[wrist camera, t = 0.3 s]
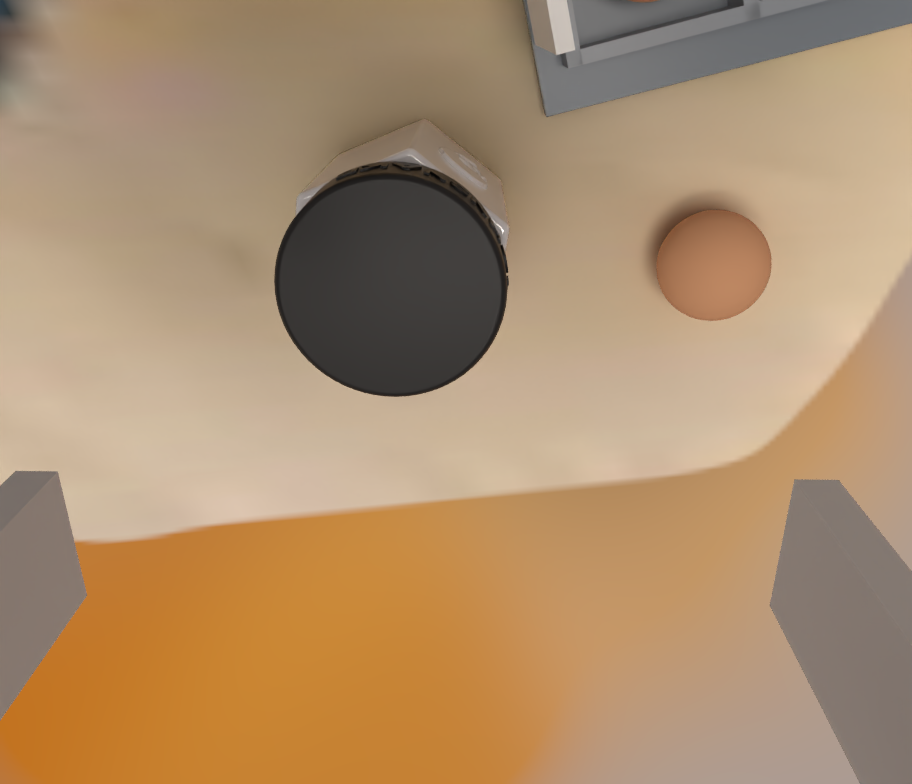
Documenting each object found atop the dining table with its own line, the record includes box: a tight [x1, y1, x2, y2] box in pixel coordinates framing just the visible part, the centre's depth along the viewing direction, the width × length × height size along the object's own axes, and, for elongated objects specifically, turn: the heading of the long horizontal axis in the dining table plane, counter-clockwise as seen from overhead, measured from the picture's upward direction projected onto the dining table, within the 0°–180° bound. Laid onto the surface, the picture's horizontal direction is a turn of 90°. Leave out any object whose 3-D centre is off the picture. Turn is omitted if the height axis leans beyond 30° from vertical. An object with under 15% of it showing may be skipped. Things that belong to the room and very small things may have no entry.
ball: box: [657, 210, 771, 321], centre depth 37 cm, size 5×5×5 cm
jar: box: [274, 119, 509, 397], centre depth 33 cm, size 9×8×12 cm
